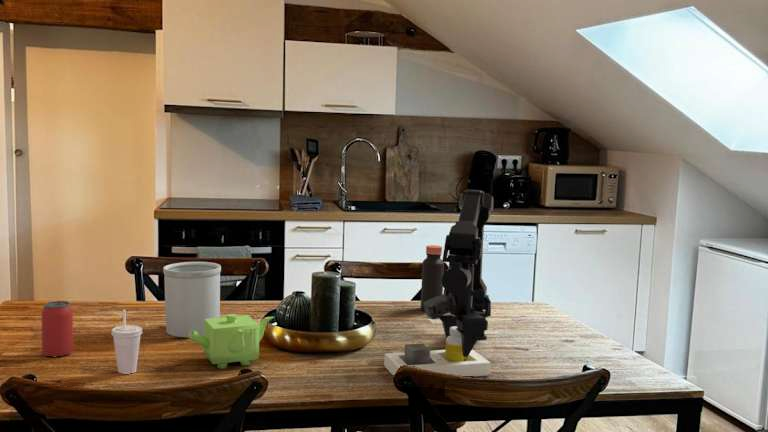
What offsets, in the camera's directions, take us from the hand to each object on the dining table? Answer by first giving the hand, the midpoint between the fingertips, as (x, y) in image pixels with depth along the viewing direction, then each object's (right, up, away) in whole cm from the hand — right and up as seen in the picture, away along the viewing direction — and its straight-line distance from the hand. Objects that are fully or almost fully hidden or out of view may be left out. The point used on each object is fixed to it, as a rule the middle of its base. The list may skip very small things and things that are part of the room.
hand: (457, 350), depth 162 cm
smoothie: (-74, -3, -10) cm, 74 cm away
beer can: (-94, -1, +1) cm, 94 cm away
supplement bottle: (0, -5, +1) cm, 5 cm away
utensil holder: (-68, +1, +23) cm, 72 cm away
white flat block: (-5, -4, -1) cm, 7 cm away
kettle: (-52, -3, -1) cm, 52 cm away
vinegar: (-2, +2, +56) cm, 56 cm away
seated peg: (-10, -5, -3) cm, 11 cm away
